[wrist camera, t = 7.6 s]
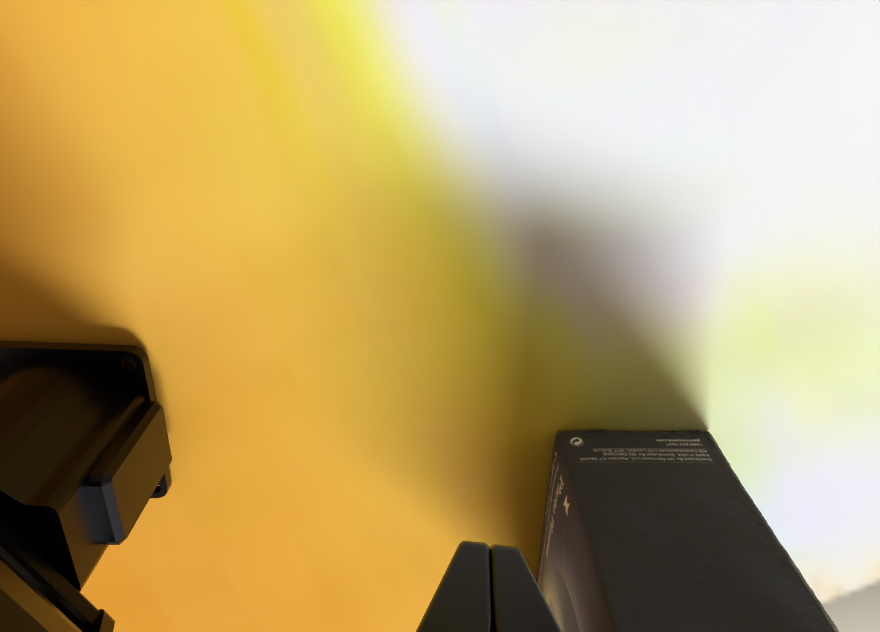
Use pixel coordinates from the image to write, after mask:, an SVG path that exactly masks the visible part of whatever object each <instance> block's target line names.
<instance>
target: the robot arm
mask: <svg viewBox="0 0 880 632" xmlns="http://www.w3.org/2000/svg"><path fill="white" fill-rule="evenodd" d="M126 357H128V358H132V359H133V360H134V361H135V362H136V364H131V363H130V362H128V360H127V358H126ZM171 461H172V456H171V451H170V446H169V440H168V435H167V429H166V424H165V418H164V413H163V408H162V406H161V405H160V404H159V402H157V401H156V396H155V391H154V386H153V380H152V375H151V370H150V364H149V359H148V356H147V354H146V353H145V352H144V351H143V350H142V349H141V348H139V347H136V346H131V345H100V344H69V343H37V342H5V341H0V632H113V629H114V624H115V620H113V619H112V618H111V617H110V616H109V615H108V614H107V613H106V612H105V611H104V610H103V609H100V610H98V609H97V608H96V607H95V606H94V605H93V604H92V603H91V602H90V601H89V600H88V599H87V598H86V597H84V596H83V595H82V594H81V593H80V591H81V589H82V588H83V586H84V585H85V583H86V581H87V580H88V578H89V576H90V575H91V573H92V571H93V570H94V568H95V566H96V565H97V563H98V561H99V560H100V558H101V557H102V555H103V553H104V552H105V550H106V548H107V547H108V545H120V544H121V543H122V542H123V541H124V540H125V539H126V538H127V537H128V535H129V533H130V532H131V530H132V528H133V526H134V525H135V523H136V521H137V520H138V518H139V516H140V514H141V513H142V511H143V509H144V507H145V506H146V504H147V502H148V501H149V499H150V498H160V497H163V496H165V495H166V493H167V492H168V490H169V488H170V486H171V476H170V471H169V464H170V463H171ZM157 485H160V486H157ZM416 632H562V630H561V628H560V627H559V625H558V623H557V621H556V619H555V617H554V615H553V613H552V611H551V609H550V607H549V605H548V603H547V601H546V599H545V597H544V595H543V593H542V592H541V590H540V588H539V586H538V584H537V582H536V580H535V578H534V576H533V574H532V572H531V570H530V568H529V566H528V564H527V562H526V560H525V558H524V557H523V555H522V553H521V551H520V550H519V549H518V548H517V547H514V546H506V545H498V544H494V545H491V546H490V548H489V546H488V545H487V544H486V543H481V542H472V541H462V542H461V543H460V544H459V546H458V548H457V550H456V552H455V554H454V556H453V558H452V560H451V562H450V564H449V566H448V568H447V570H446V572H445V574H444V576H443V578H442V580H441V582H440V584H439V586H438V588H437V590H436V592H435V594H434V596H433V598H432V600H431V602H430V604H429V606H428V608H427V610H426V612H425V614H424V616H423V618H422V621H421V623H420V625H419V627H418V629H417V631H416Z"/></svg>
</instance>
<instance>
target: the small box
mask: <svg viewBox="0 0 880 632" xmlns="http://www.w3.org/2000/svg"><path fill="white" fill-rule="evenodd" d="M536 582H537V584H538V586H539V588H540V590H541V592H542V593H543V595H544V597H545V599H546V601H547V603H548V605H549V607H550V609H551V611H552V613H553V615H554V617H555V619H556V621H557V623H558V625H559V627H560V628H561V630H562V632H839V631H838V629H837V627H836V626H835V624H834V623H833V621H832V620H831V618H830V617H829V615H828V614H827V612H826V611H825V610H824V608H823V606H822V604H821V603H820V601H819V600H818V599H817V597H816V596H815V594H814V592H813V590H812V589H811V588H810V587H809V585H808V584H807V582H806V581H805V579H804V577H803V576H802V574H801V572H800V571H799V569H798V568H797V567H796V565H795V564H794V562H793V561H792V559H791V558H790V556H789V554H788V553H787V551H786V550H785V549H784V547H783V546H782V545H781V544H780V542H779V541H778V539H777V538H776V536H775V535H774V533H773V531H772V529H771V528H770V526H769V525H768V524H767V522H766V520H765V519H764V517H763V516H762V514H761V512H760V511H759V510H758V508H757V507H756V505H755V504H754V502H753V500H752V499H751V497H750V496H749V494H748V493H747V492H746V490H745V489H744V487H743V486H742V484H741V483H740V481H739V479H738V477H737V476H736V474H735V473H734V471H733V470H732V468H731V467H730V464H729V463H728V461H727V459H726V458H725V456H724V455H723V453H722V451H721V450H720V448H719V447H718V445H717V443H716V441H715V440H714V438H713V436H712V435H711V434H710V433H709V432H707V431H698V430H697V431H686V432H675V431H671V432H640V431H606V430H591V431H562V432H558V433H557V434H556V437H555V443H554V450H553V458H552V465H551V473H550V481H549V489H548V496H547V503H546V511H545V519H544V526H543V534H542V540H541V548H540V556H539V563H538V571H537V579H536Z"/></svg>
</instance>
